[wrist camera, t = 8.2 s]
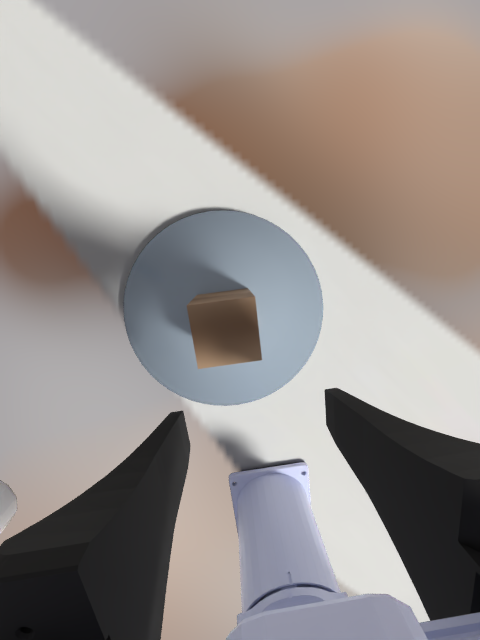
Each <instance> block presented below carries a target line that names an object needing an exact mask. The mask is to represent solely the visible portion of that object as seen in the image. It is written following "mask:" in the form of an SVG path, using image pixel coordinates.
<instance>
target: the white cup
mask: <svg viewBox="0 0 480 640" xmlns="http://www.w3.org/2000/svg"><path fill="white" fill-rule="evenodd" d="M16 511H17V498H16V496H15V494H14V493H13V491H12V490H11V488H10V487H9V486H8V485H7V484H5V483H4V482H2V481H1V480H0V534H1V532H2V531H3V530H4V529H5V527H6V526H7V525H8V523H9V522H10V521H11V519H12V517H13V516H14V514H15V513H16Z"/></svg>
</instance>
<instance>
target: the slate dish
mask: <svg viewBox="0 0 480 640" xmlns="http://www.w3.org/2000/svg"><path fill="white" fill-rule="evenodd" d="M245 288H248V289H249V290H250V291H251V292H252V294H253V295H254V296H255V299H256V308H257V317H258V326H259V336H260V345H261V354H262V360H260V361H253V362H246V363H238V364H231V365H224V366H217V367H210V368H202V369H198V366H197V361H196V355H195V350H194V344H193V339H192V333H191V328H190V322H189V317H188V311H187V305H188V304H189V303H190V301H191V300H192V299H193V298H194V297H195V296H196V295H199V294H207V293H214V292H222V291H230V290H237V289H245ZM123 306H124V321H125V326H126V331H127V335H128V338H129V341H130V344H131V346H132V348H133V350H134V352H135V354H136V356H137V357H138V358H139V360H140V362H141V364H142V365H143V366H144V367H145V369H146V370H147V371H148V372H149V373H150V375H152V376H153V377H154V378H155V379H156V380H157V381H158V382H159V383H160V384H162V385H163V386H165V387H166V388H167V389H169V390H170V391H172V392H174V393H176V394H178V395H179V396H182V397H184V398H187V399H189V400H192V401H196V402H199V403H203V404H210V405H224V406H227V405H239V404H243V403H248V402H252V401H255V400H258V399H261V398H263V397H265V396H268V395H270V394H272V393H273V392H275V391H277V390H278V389H280V388H281V387H283V386H284V385H285V384H287V383H288V382H289V381H290V380H291V379H292V378H293V377H294V376H295V375H296V374H297V373H298V372H299V371H300V370H301V369H302V367H303V366H304V365H305V364H306V362H307V361H308V359H309V357H310V356H311V354H312V352H313V350H314V348H315V345H316V343H317V341H318V337H319V334H320V330H321V325H322V319H323V299H322V291H321V287H320V283H319V279H318V276H317V274H316V271H315V269H314V266H313V265H312V263H311V261H310V259H309V257H308V256H307V254H306V253H305V252H304V250H303V249H302V248H301V246H300V245H299V244H298V243H297V242H296V241H295V240H294V239H293V238H292V237H291V236H290V235H289V234H287V233H286V232H285V231H284V230H282V229H281V228H280V227H278V226H276V225H275V224H273V223H271V222H269V221H267V220H265V219H263V218H260V217H258V216H255V215H252V214H248V213H243V212H239V211H228V210H220V211H208V212H203V213H198V214H194V215H191V216H189V217H186V218H183V219H181V220H179V221H177V222H175V223H173V224H171V225H169V226H168V227H167V228H165V229H164V230H163V231H161V232H160V233H158V234H157V235H156V236H155V237H154V238H153V239H152V240H151V241H150V242H149V243H148V244H147V245H146V247H145V248H144V249H143V251H142V252H141V253H140V255H139V256H138V258H137V260H136V262H135V263H134V265H133V267H132V270H131V272H130V275H129V277H128V280H127V284H126V289H125V294H124V305H123Z"/></svg>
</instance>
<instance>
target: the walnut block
mask: <svg viewBox="0 0 480 640" xmlns="http://www.w3.org/2000/svg"><path fill="white" fill-rule="evenodd" d="M187 311H188V317H189V322H190V328H191V333H192V339H193V344H194V350H195V355H196V361H197V366H198V369H202V368H210V367H217V366H224V365H231V364H238V363H246V362H253V361H260V360H262V354H261V345H260V336H259V326H258V317H257V308H256V299H255V296H254V295H253V294H252V292H251V291H250V290H249V289H248V288H245V289H237V290H230V291H222V292H214V293H207V294H199V295H196V296H195V297H194V298H193V299H192V300H191V301H190V303H189V304H188V305H187Z"/></svg>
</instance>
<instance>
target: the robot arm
mask: <svg viewBox="0 0 480 640" xmlns="http://www.w3.org/2000/svg"><path fill="white" fill-rule="evenodd" d="M325 406H326V425H327V427H328V429H329V431H330V433H331V435H332V437H333V439H334V441H335V443H336V445H337V447H338V448H339V450H340V451H341V453H342V455H343V456H344V458H345V459H346V461H347V462H348V464H349V466H350V467H351V469H352V470H353V472H354V473H355V475H356V476H357V478H358V479H359V481H360V483H361V484H362V486H363V487H364V489H365V491H366V492H367V494H368V496H369V497H370V499H371V501H372V503H373V505H374V506H375V508H376V510H377V512H378V514H379V516H380V518H381V520H382V522H383V524H384V525H385V527H386V529H387V531H388V533H389V535H390V537H391V539H392V541H393V543H394V545H395V547H396V549H397V551H398V553H399V555H400V557H401V559H402V561H403V563H404V566H405V568H406V570H407V572H408V574H409V576H410V578H411V580H412V582H413V584H414V586H415V588H416V590H417V593H418V595H419V597H420V599H421V601H422V603H423V606H424V608H425V610H426V612H427V614H428V616H429V619H430V621H427V622H422V623H419V622H418V620H417V618H416V617H415V615H414V613H413V611H412V609H411V607H410V606H408V605H406V604H405V603H403V602H401V601H399V600H397V599H396V598H394V597H392V596H390V595H388V594H363V595H357V596H352V597H348V596H347V593H346V592H340V589H339V586H338V583H337V580H336V577H335V574H334V572H333V569H332V566H331V563H330V560H329V557H328V554H327V551H326V549H325V546H324V543H323V540H322V537H321V534H320V531H319V529H318V526H317V523H316V520H315V517H314V514H313V511H312V509H311V500H310V485H309V471H308V466H307V464H306V463H305V462H300V463H294V464H287V465H281V466H274V467H268V468H261V469H255V470H248V471H241V472H235V473H231V474H230V475H229V484H230V490H231V496H232V501H233V508H234V513H235V519H236V525H237V531H238V537H239V554H240V576H241V599H242V613H240V614H238V615H237V626H236V627H235V628H234V629H233V630H232V631H231V632H230V633H229V635H228V636H227V638H226V640H480V444H479V443H475V442H471V441H467V440H463V439H459V438H456V437H452V436H449V435H446V434H442V433H439V432H436V431H433V430H430V429H427V428H424V427H421V426H418V425H415V424H413V423H410V422H407V421H405V420H402V419H400V418H398V417H395V416H393V415H391V414H389V413H386V412H384V411H382V410H380V409H378V408H376V407H374V406H372V405H370V404H368V403H366V402H364V401H362V400H360V399H358V398H356V397H354V396H352V395H350V394H348V393H346V392H344V391H342V390H340V389H338V388H332V389H326V390H325ZM189 454H190V441H189V437H188V432H187V427H186V422H185V418H184V413H183V411H178V412H171V413H170V414H169V415H168V416H167V417H166V418H165V419H164V420H163V421H162V423H161V424H160V425H159V426H158V427H157V428H156V429H155V430H154V431H153V432H152V433H151V434H150V436H149V437H148V438H147V439H146V440H145V441H144V442H143V443H142V444H141V445H140V446H139V447H138V448H137V449H136V450H135V451H134V452H133V453H132V454H131V455H130V456H129V457H127V458H126V459H125V460H124V461H123V462H122V463H121V464H120V465H118V466H117V467H116V468H115V469H114V470H113V471H111V472H110V473H109V474H108V475H107V476H105V477H104V478H103V479H101V480H100V481H99V482H97V483H96V484H95V485H93V486H92V487H91V488H89V489H88V490H86V491H85V492H84V493H82V494H81V495H80V496H78V497H77V498H75V499H74V500H72V501H71V502H69V503H68V504H66V505H65V506H63V507H62V508H60V509H59V510H57V511H55V512H54V513H52V514H51V515H49V516H47V517H46V518H44V519H43V520H41V521H39V522H37V523H36V524H34V525H32V526H30V527H28V528H27V529H25V530H23V531H22V532H20V533H18V534H16V535H15V536H13V537H11V538H9V539H7V540H5V541H4V542H3V543H2V544H1V546H0V640H160V639H161V630H162V621H163V612H164V603H165V594H166V585H167V578H168V570H169V562H170V554H171V548H172V541H173V533H174V528H175V522H176V517H177V513H178V509H179V504H180V500H181V496H182V492H183V487H184V483H185V478H186V474H187V469H188V463H189ZM303 471H304V472H303ZM234 482H235V483H234Z"/></svg>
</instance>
